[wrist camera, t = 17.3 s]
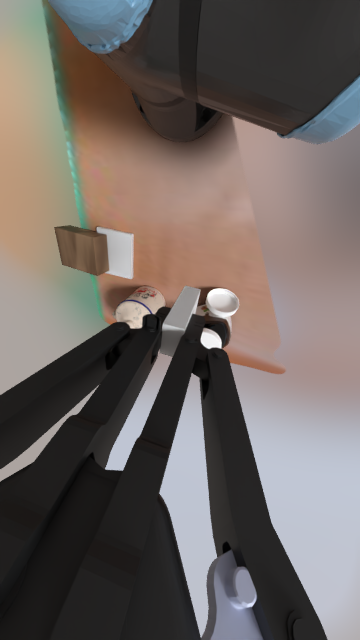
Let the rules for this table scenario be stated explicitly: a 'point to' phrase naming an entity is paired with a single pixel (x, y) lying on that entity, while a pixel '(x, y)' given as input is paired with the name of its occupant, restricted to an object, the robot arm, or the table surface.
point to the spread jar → (217, 317)
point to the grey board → (119, 252)
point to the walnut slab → (83, 249)
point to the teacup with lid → (139, 306)
